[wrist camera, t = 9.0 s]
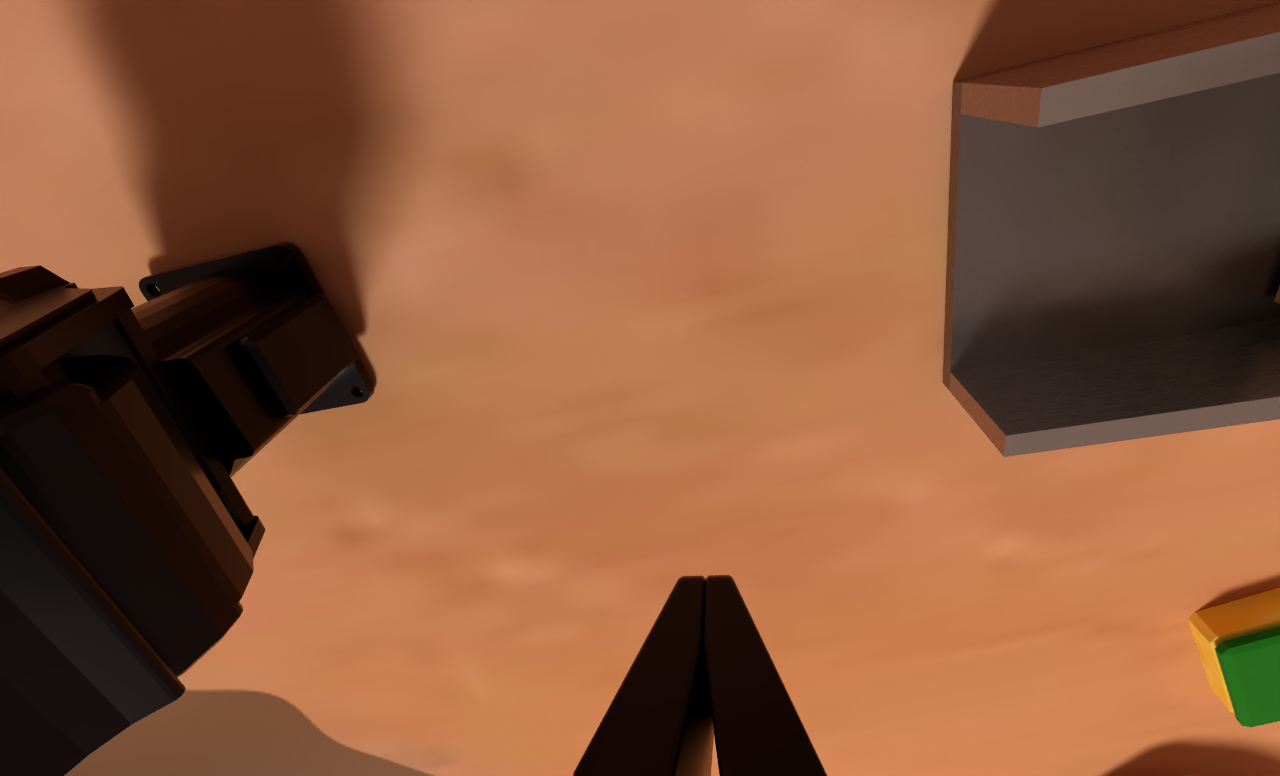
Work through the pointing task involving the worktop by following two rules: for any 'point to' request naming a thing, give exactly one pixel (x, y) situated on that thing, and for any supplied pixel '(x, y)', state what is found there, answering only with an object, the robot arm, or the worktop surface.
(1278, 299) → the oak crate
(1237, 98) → the metal bay
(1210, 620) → the dish sponge
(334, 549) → the worktop surface
